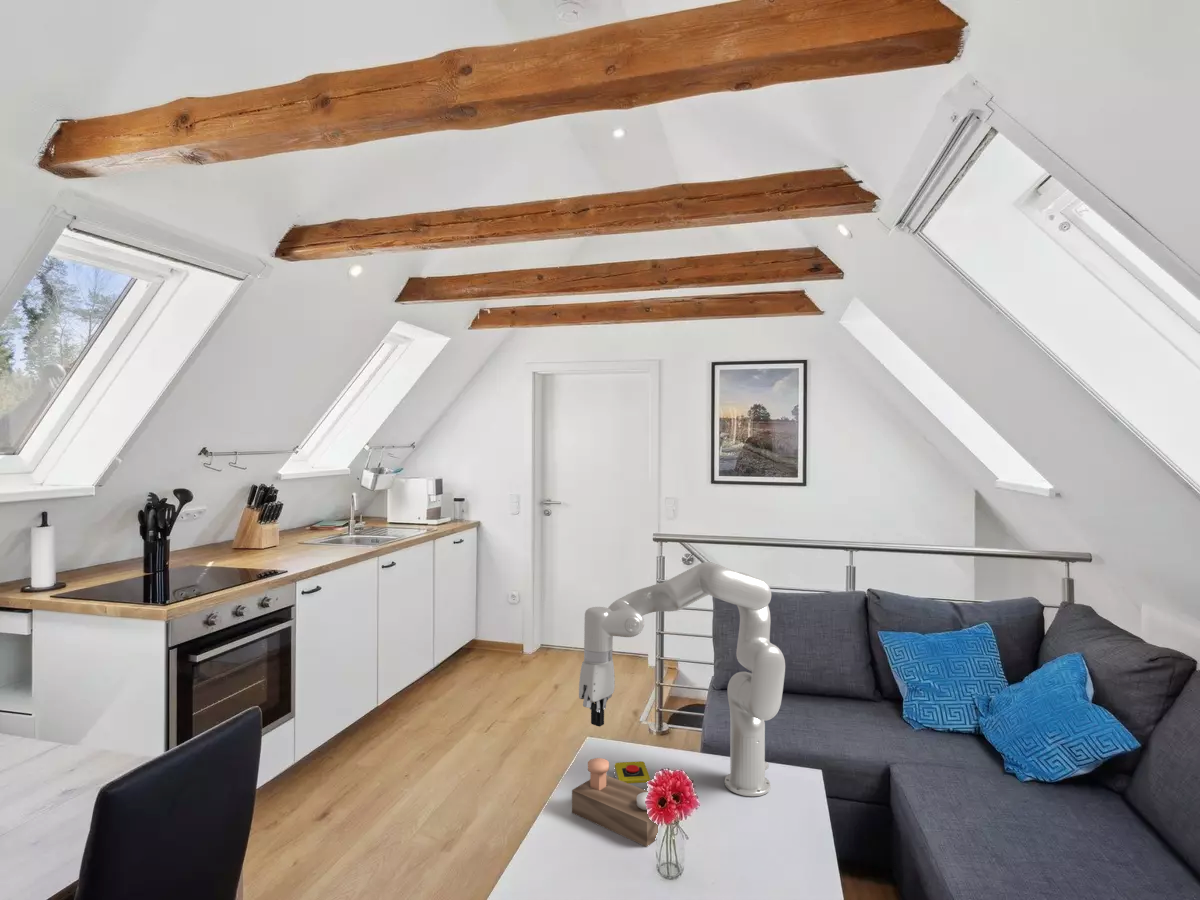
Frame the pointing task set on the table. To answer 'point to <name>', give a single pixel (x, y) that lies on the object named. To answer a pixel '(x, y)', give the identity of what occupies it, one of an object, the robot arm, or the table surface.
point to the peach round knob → (598, 772)
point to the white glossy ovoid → (642, 800)
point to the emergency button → (632, 773)
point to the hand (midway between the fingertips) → (597, 724)
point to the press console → (615, 809)
